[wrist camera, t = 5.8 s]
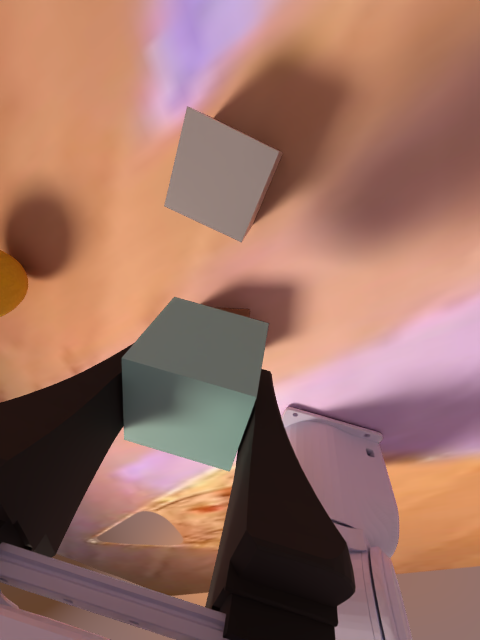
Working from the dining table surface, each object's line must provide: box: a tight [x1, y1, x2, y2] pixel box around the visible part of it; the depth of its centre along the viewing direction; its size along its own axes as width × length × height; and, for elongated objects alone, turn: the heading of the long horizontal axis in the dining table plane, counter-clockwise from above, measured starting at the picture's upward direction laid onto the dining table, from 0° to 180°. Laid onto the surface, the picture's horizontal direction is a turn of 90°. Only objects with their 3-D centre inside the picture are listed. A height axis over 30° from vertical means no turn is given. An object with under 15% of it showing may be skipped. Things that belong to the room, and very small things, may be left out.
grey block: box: [164, 106, 283, 242], centre depth 15 cm, size 4×4×4 cm
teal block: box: [122, 297, 269, 471], centre depth 12 cm, size 4×4×4 cm
